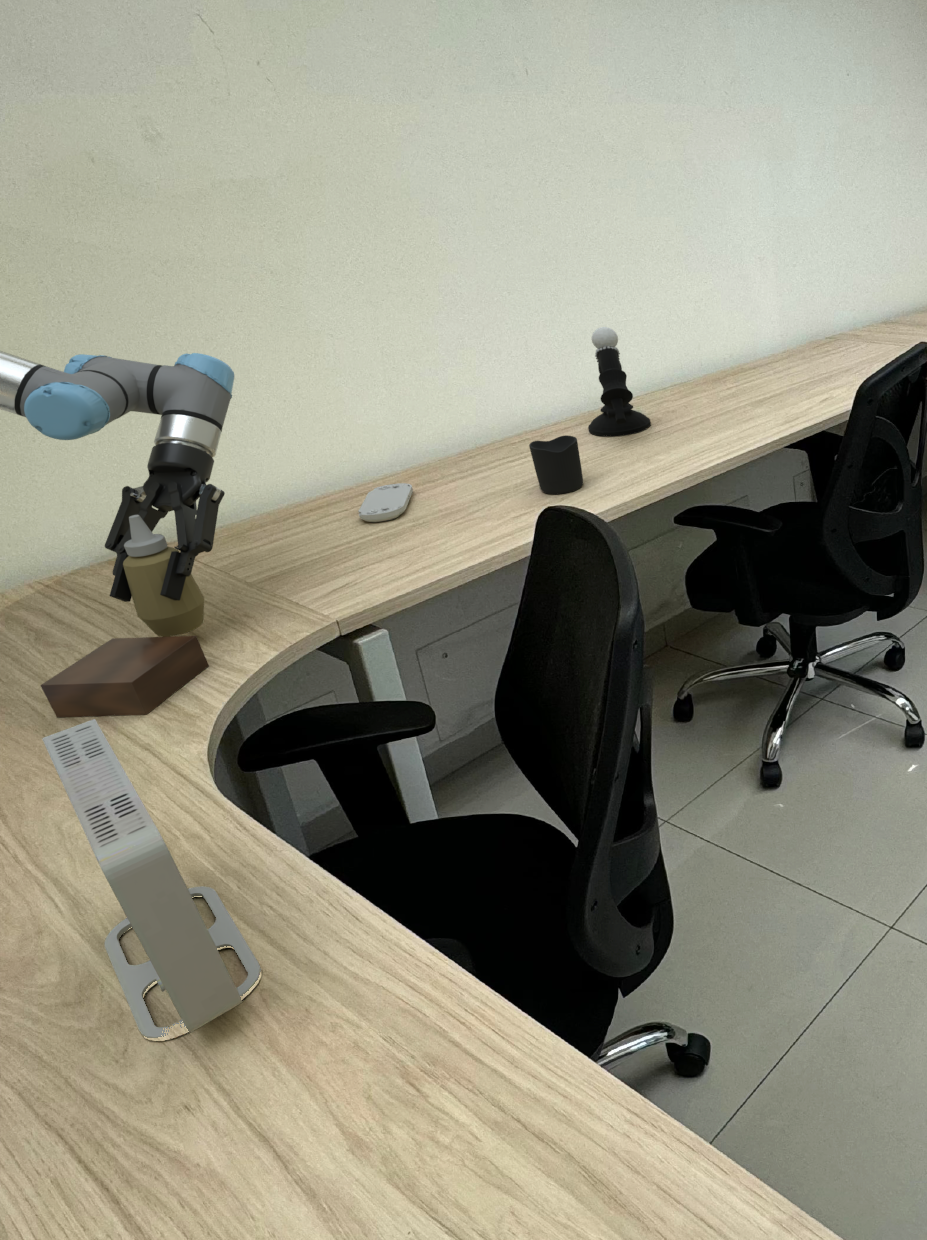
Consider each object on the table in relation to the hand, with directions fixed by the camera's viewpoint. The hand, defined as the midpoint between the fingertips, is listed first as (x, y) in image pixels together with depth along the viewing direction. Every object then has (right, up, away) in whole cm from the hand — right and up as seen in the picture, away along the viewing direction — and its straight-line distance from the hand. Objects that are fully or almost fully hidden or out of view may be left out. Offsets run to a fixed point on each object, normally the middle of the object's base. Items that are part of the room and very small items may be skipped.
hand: (145, 597), depth 129 cm
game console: (+4, +16, +56) cm, 58 cm away
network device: (+42, -31, -47) cm, 70 cm away
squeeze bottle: (0, -5, +6) cm, 8 cm away
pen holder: (+37, +20, +63) cm, 76 cm away
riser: (+2, -12, -4) cm, 14 cm away
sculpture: (+39, +37, +98) cm, 112 cm away
